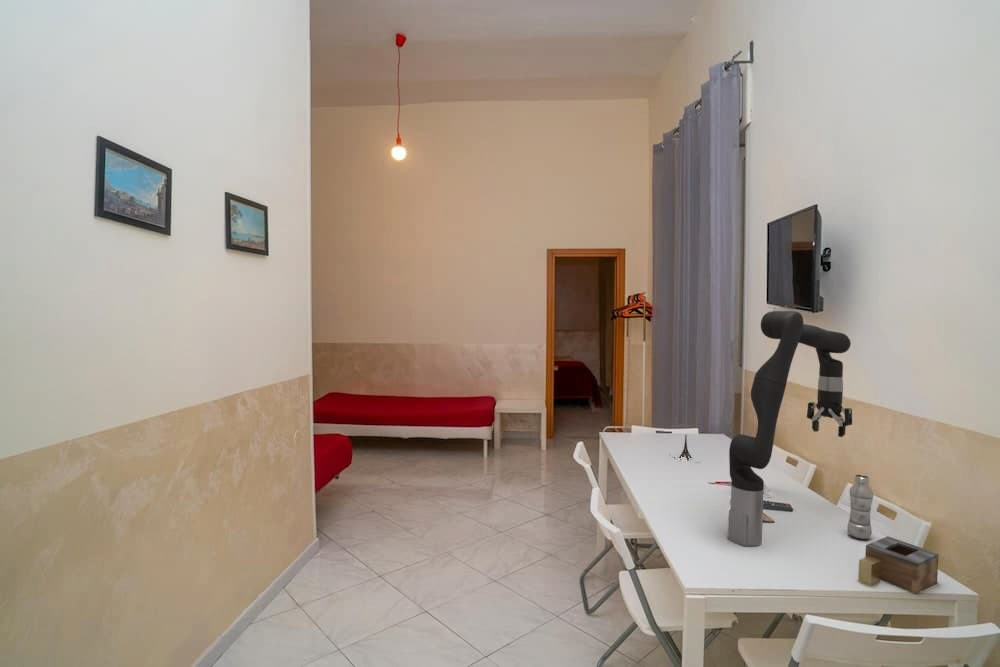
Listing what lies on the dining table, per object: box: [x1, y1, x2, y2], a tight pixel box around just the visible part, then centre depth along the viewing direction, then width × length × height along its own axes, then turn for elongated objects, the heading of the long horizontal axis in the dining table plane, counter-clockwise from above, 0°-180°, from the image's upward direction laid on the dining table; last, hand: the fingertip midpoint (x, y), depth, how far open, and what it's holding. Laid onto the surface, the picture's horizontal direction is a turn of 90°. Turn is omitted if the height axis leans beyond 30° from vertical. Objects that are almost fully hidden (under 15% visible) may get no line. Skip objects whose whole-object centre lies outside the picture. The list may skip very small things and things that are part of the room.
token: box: [857, 556, 881, 588], centre depth 139 cm, size 5×3×6 cm, turn 119°
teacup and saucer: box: [764, 484, 771, 496], centre depth 205 cm, size 9×8×4 cm
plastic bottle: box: [847, 474, 874, 540], centre depth 166 cm, size 6×7×20 cm
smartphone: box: [762, 512, 775, 524], centre depth 184 cm, size 8×1×15 cm
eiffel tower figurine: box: [678, 434, 693, 461], centre depth 254 cm, size 15×10×13 cm
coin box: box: [864, 536, 940, 595], centre depth 141 cm, size 12×12×8 cm
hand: (828, 433), depth 184 cm, fingers open, 8 cm apart
